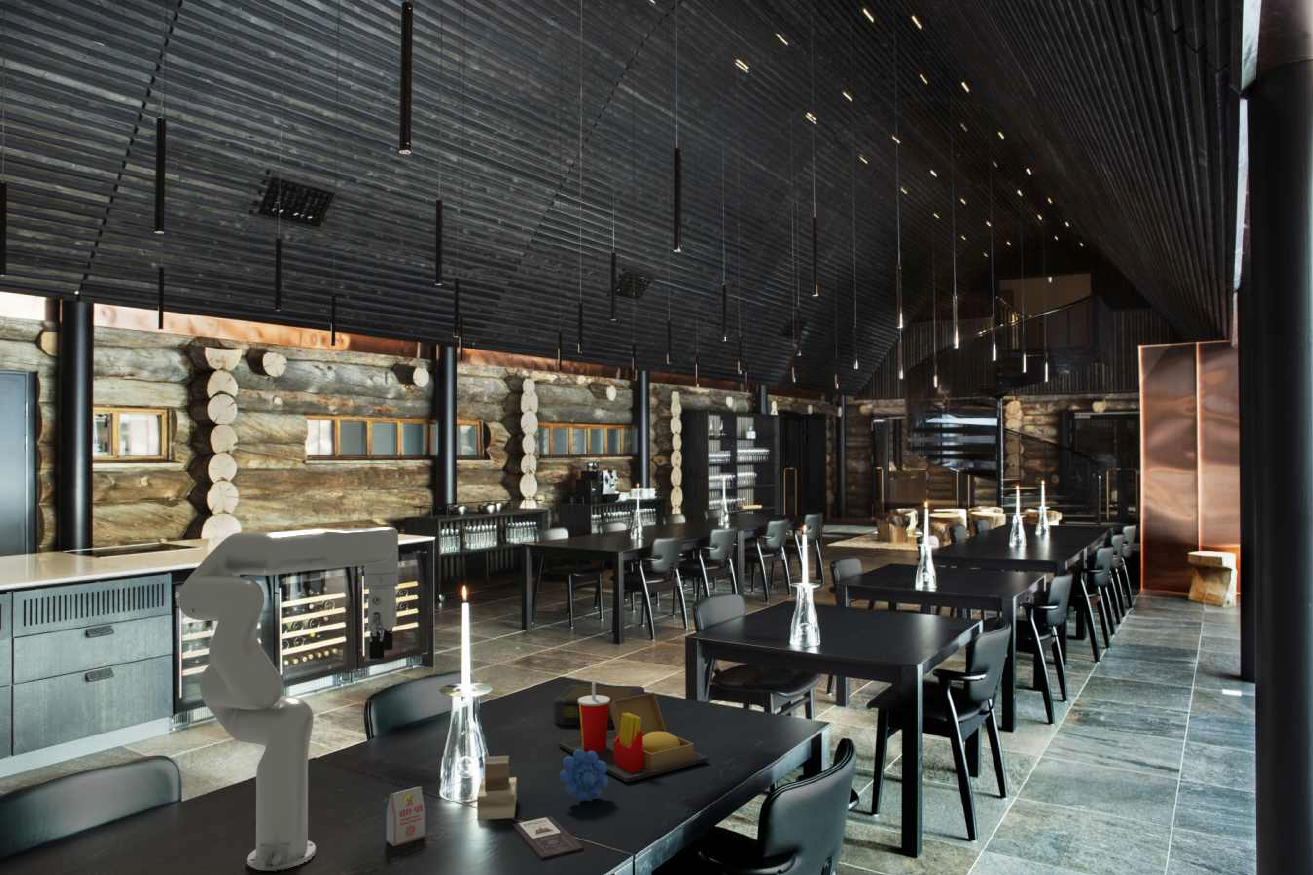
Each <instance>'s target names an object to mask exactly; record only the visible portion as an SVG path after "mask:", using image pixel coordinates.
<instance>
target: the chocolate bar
mask: <svg viewBox="0 0 1313 875" xmlns="http://www.w3.org/2000/svg"><path fill="white" fill-rule="evenodd" d="M511 827H512V829H514V830H515V832H516V833H517V834H518V835H519V837H520V838H522V840H523V841H524V842H525V843H526V844H527V845H528V847H530V848H531V850H532V851H533V852H534V854H536V856H537V857H539V859H540V860H541V861H543V860H547V859H551V858H556V857H560V856H563V855H568V854H573V853H577V852H581V851H584V850H585V847H584V846H583V845H582V844H581V843H580V842H579V841H578V840H577V839H576V838H575V837H574V836H573V835H572V834H571V833H570V832H569V831H568V830H566V828H564V827H563V825H561V823H560V822H558V820H557V819H555V818H554V816H552V815H550V816H545V817H542V818H536V819H532V820H527V821H522V822H517V823H512V825H511Z"/></svg>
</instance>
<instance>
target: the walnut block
mask: <svg viewBox="0 0 1313 875" xmlns="http://www.w3.org/2000/svg"><path fill="white" fill-rule="evenodd" d="M509 777H510V756H509V755H496V756H495V755H493V756H486V759H485V764H484V779H485V791H501V790H508V786H509Z"/></svg>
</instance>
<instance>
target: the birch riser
mask: <svg viewBox="0 0 1313 875" xmlns="http://www.w3.org/2000/svg"><path fill="white" fill-rule="evenodd" d="M480 780H481V781H480V785H479V788H478V791H477V798H476V799H477V801H476V802H477V804H476V806H477V808H476V810H477V811H476V812H477V816H476V817H477V820H478V821H481V820H482V821H483V820H484V821H485V820H497V819H498V820H499V819H514V818H515V814H516V806H517V800H518V799H517V798H518V797H517V795H518V794H517V792H518V791H517V788H518V786H517V784H518V783H517V782H518V781H517V776H513V777H510V776H509V786H508V790H501V791H485V778H481V779H480Z"/></svg>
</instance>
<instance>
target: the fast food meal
mask: <svg viewBox="0 0 1313 875" xmlns="http://www.w3.org/2000/svg"><path fill="white" fill-rule="evenodd" d="M591 685H592V695H591V696H584V697H581V698H579V699H578V703H579V711H580V722H581V725H580V732H581V736H579V737H575V738H570V739H565V740H560V741H558V742H557V746H558V747H559V748H561V749H563V750H565V751H567V752H570V753H571V754H573V755H574V752H575V751H576V750H577V749H581V750H583V751H584V752H585V754H587V752H589V751H595V752H596V753H597V755H598V761H599V760H600V761H604V762H605V763H606V766H607V770H606V772H605V773H608V774H610V775H612V776H614V777H615V778H617V779H619V780H621V781H623V782H625V783H629V782H634V781H637V780H641V779H644V778H645V779H646V778H649V777H652V776H657V775H659V774H664V773H667V772H671V771H676V770H681V769H684V768H687V767H691V766H694V765H698V764H703V763H707V762H709V761H710V760H709V756H706V755H705V754H702V753H700V752H697V751H696V750H694V743H693V742H690V741H688V740H686V739H683V738H681V737H678V736H677V735H674V734H672V733H670V732H667V729H666V726H665V723H664V719H663V715H662V712H661V709H660V706H659V705H660V704H659V703H658V702H659V701H658V699H657V694H656V692H655V691H654V692H649V693H648V692H647V693H644V694H643V695H638V696H632V697H627V698H622V699H617V700H613V701H611V702H610V703H609V701H610V698H608V697H606V696H600V695H596V691H595V685H596V682H592V683H591ZM608 705H609V708H610V712H611V716H612V719H613V723H614V729H613V730H608V726H607V720H608Z"/></svg>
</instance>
